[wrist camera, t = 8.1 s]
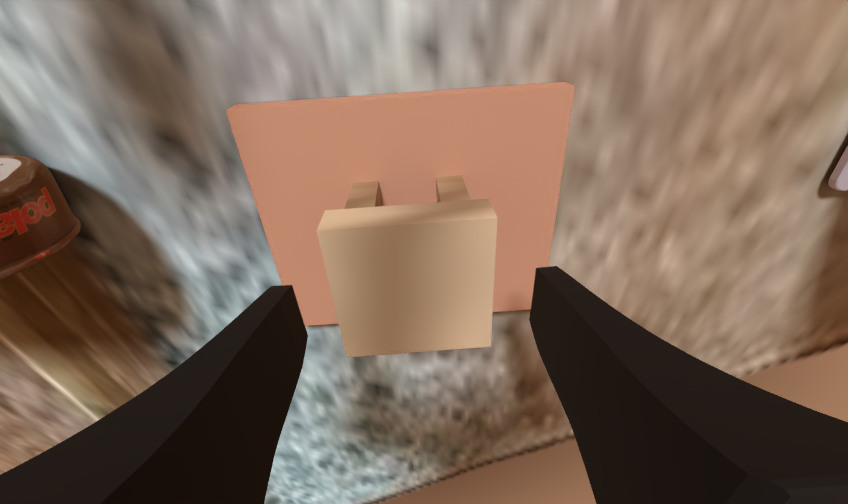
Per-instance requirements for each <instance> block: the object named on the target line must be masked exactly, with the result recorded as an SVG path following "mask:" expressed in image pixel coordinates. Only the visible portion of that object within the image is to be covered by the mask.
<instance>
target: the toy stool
mask: <svg viewBox="0 0 848 504" xmlns="http://www.w3.org/2000/svg"><path fill="white" fill-rule="evenodd" d="M436 196H437V202H435V203H421V204H407V205H393V206H382V204H381V196H380V188H379V181H374V182H359V183H352V186H351V190H350V193H349V196H348V199H347V202H346V205H345V208H344V209H336V210H325V211H324V214H323V216H322V219H321V221H320V223H319V226H318V228H317V235H318V239H319V244H320V248H321V252H322V256H323V260H324V264H325V269H326V273H327V277H328V281H329V285H330V289H331V294H332V298H333V302H334V306H335V310H336V314H337V319H338V323H339V327H340V331H341V335H342V339H343V344H344V348H345V352H346V356H347V357H357V356H371V355H384V354H398V353H411V352H424V351H438V350H451V349H465V348H478V347H491V329H492V310H493V292H494V274H495V255H496V237H497V219H498V218H497V216H496V213H495V211H494V209H493V207H492V205H491V203H490V201H489V199H477V200H471V199H470V196H469V194H468V191H467V188H466V186H465V183H464V180H463V178H462V175H459V176H445V177H436Z"/></svg>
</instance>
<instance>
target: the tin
mask: <svg viewBox="0 0 848 504" xmlns="http://www.w3.org/2000/svg"><path fill="white" fill-rule="evenodd" d="M80 228H81V224H80V221H79V219H78V218H77V217H75V216H74V215H73V214H72V212H71V210H70V208H69V206H68V204H67V202H66V200H65V198H64V196H63V194H62V192H61V190H60V189H59V187H58V185H57V183H56V181H55V179H54V177H53V176H52V174H51V173H50V171H49V170H48V168H47V167H46V166H45V165H44V164H43V163H41V162H40V161H39V160H36V159H34V158H30V157H26V156H18V155H0V280H2V279H5V278H7V277H9V276H11V275H13V274H16V273H18V272H19V271H22V270H24V269H27V268H29V267H31V266H33V265H35V264H37V263H39V262H40V261H42V260H43V259H45V258H47V257H49V256H51V255H53V254H54V253H56V252H57V251H59V250H61V249H62V248H63V247H65V246H66V245H67V244H68V243H70V242H71V241H72V240H73V239H74V238H75V237H76V235H77V234H78V233H79V231H80Z"/></svg>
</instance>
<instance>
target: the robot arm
mask: <svg viewBox="0 0 848 504" xmlns="http://www.w3.org/2000/svg"><path fill="white" fill-rule="evenodd" d="M828 184H829V186H830V187H831V188H833V189H836V190H839V191H848V145H847V147H846V149H845V151H844V153H843V155H842V156H841V158H840V160H839V162H838V164H837V165H836V167H835V169H834V171H833V173H832V175H831V176H830V178H829V181H828ZM529 320H530V324H531V327H532V331H533V335H534V338H535V341H536V345H537V348H538V351H539V353H540V356H541V358H542V360H543V363H544V365H545V367H546V369H547V372H548V374H549V376H550V379H551V381H552V383H553V385H554V388H555V390H556V392H557V394H558V397H559V399H560V401H561V403H562V406H563V408H564V410H565V412H566V415H567V417H568V419H569V422H570V424H571V427H572V429H573V432H574V435H575V438H576V441H577V443H578V447H579V450H580V452H581V456H582V459H583V462H584V465H585V468H586V471H587V474H588V477H589V481H590V484H591V487H592V491H593V494H594V497H595V500H596V503H597V504H848V422H845V421H842V420H839V419H837V418H834V417H831V416H828V415H826V414H823V413H820V412H817V411H814V410H812V409H809V408H807V407H804V406H802V405H799V404H797V403H794V402H792V401H789V400H787V399H785V398H782V397H780V396H777V395H775V394H772V393H770V392H767V391H765V390H763V389H760V388H758V387H756V386H753V385H751V384H749V383H747V382H745V381H742V380H740V379H738V378H736V377H734V376H732V375H730V374H728V373H725V372H723V371H721V370H719V369H717V368H715V367H713V366H711V365H709V364H707V363H705V362H703V361H701V360H699V359H697V358H695V357H693V356H691V355H689V354H687V353H686V352H684V351H682V350H680V349H678V348H677V347H675V346H673V345H671V344H669V343H668V342H666V341H664V340H662V339H661V338H659V337H657V336H656V335H654V334H652V333H651V332H649V331H647V330H646V329H644V328H643V327H641V326H640V325H638V324H636V323H635V322H633V321H632V320H630V319H629V318H627V317H626V316H624V315H623V314H621V313H620V312H618V311H617V310H615V309H614V308H613V307H611V306H610V305H608V304H607V303H606V302H604V301H603V300H601V299H600V298H599V297H597V296H596V295H595V294H593V293H592V292H591V291H589V290H588V289H587V288H585V287H584V286H583V285H581V284H580V283H579V282H577V281H576V280H575V279H573V278H572V277H571V276H569V275H568V274H567V273H565V272H564V271H563V270H561V269H560V268H558V267H557V266H554V267H540V268H536V272H535V280H534V288H533V296H532V304H531V312H530V319H529ZM307 337H308V335H307V331H306V328H305V325H304V322H303V318H302V315H301V312H300V309H299V305H298V302H297V299H296V296H295V292H294V289H293V286H292V285H283V286H271V287H270V288H269V289H268V290H266V291H265V292H264V293H263V294H262V295H261V296H260V297H259V298H257V299H256V300H255V301H254V302H253V303H252V304H251V305H250V306H249V307H248V308H246V309H245V310H244V311H243V312H242V313H241V314H240V315H239V316H238V317H237V318H235V319H234V320H233V321H232V322H231V323H230V324H229V325H228V326H226V327H225V328H224V329H223V330H222V331H221V332H220V333H219V334H217V335H216V336H215V337H214V338H213V339H211V340H210V341H209V342H208V343H207V344H205V345H204V346H203V347H202V348H201V349H199V350H198V351H197V352H196V353H195V354H193V355H192V356H191V357H190V358H188V359H187V360H186V361H185V362H183V363H182V364H181V365H180V366H178V367H177V368H176V369H174V370H173V371H172V372H170V373H169V374H168V375H166V376H165V377H163V378H162V379H161V380H159V381H158V382H156V383H155V384H154V385H152V386H151V387H149V388H148V389H147V390H145V391H144V392H142V393H141V394H139V395H138V396H136V397H135V398H133V399H131V400H130V401H128V402H127V403H125V404H124V405H122V406H120V407H119V408H117V409H116V410H114V411H113V412H111V413H109V414H108V415H106V416H105V417H103V418H102V419H100V420H98V421H97V422H95V423H94V424H92V425H90V426H89V427H87V428H85V429H84V430H82V431H80V432H78V433H77V434H75V435H73V436H71V437H70V438H68V439H66V440H65V441H63V442H61V443H59V444H57V445H56V446H54V447H52V448H50V449H48V450H47V451H45V452H43V453H41V454H39V455H37V456H36V457H34V458H32V459H30V460H28V461H26V462H24V463H23V464H21V465H19V466H17V467H15V468H13V469H11V470H9V471H7V472H5V473H3V474H1V475H0V504H264V500H265V495H266V491H267V486H268V481H269V477H270V472H271V468H272V463H273V459H274V455H275V451H276V448H277V444H278V440H279V437H280V434H281V431H282V428H283V425H284V422H285V419H286V416H287V413H288V410H289V407H290V404H291V401H292V397H293V394H294V391H295V388H296V385H297V382H298V379H299V376H300V372H301V369H302V365H303V360H304V355H305V350H306V344H307Z"/></svg>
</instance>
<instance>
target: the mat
mask: <svg viewBox="0 0 848 504" xmlns="http://www.w3.org/2000/svg"><path fill="white" fill-rule="evenodd" d="M574 90H575V86H574V85H571V84H569V83H566V82H555V83H541V84H526V85H511V86H497V87H482V88H467V89H453V90H438V91H424V92H409V93H394V94H380V95H365V96H350V97H336V98H321V99H306V100H292V101H277V102H263V103H248V104H236V105H234V106H232V107H230V108H228V109H226V113H227V116H228V120H229V123H230V126H231V129H232V132H233V135H234V138H235V141H236V144H237V147H238V150H239V153H240V157H241V160H242V163H243V166H244V169H245V172H246V175H247V178H248V181H249V184H250V187H251V190H252V193H253V197H254V200H255V203H256V206H257V209H258V212H259V215H260V218H261V221H262V224H263V227H264V230H265V233H266V237H267V240H268V243H269V246H270V249H271V252H272V255H273V258H274V261H275V264H276V267H277V270H278V274H279V277H280V280H281V283H282V286H283V285H292V286H293V289H294V292H295V296H296V299H297V302H298V305H299V309H300V312H301V315H302V318H303V322H304V325H305V326H311V325H325V324H338V319H337V314H336V310H335V306H334V302H333V298H332V294H331V289H330V285H329V281H328V277H327V273H326V269H325V264H324V260H323V256H322V252H321V248H320V244H319V239H318V235H317V228H318V226H319V223H320V221H321V219H322V216H323V214H324V211H325V210H336V209H344V208H345V205H346V202H347V199H348V196H349V193H350V190H351V186H352V183H359V182H374V181H379V188H380V196H381V204H382V206H393V205H407V204H421V203H435V202H437V196H436V177H445V176H459V175H462V178H463V180H464V183H465V186H466V188H467V191H468V194H469V196H470V199H471V200H477V199H489V201H490V203H491V205H492V207H493V209H494V211H495V213H496V216H497V218H498V219H497V237H496V255H495V274H494V292H493V310H492V312H501V311H515V310H528V309H531V304H532V296H533V288H534V280H535V272H536V268H540V267H548V266H549V259H550V252H551V246H552V239H553V232H554V225H555V219H556V212H557V205H558V198H559V191H560V185H561V178H562V171H563V164H564V158H565V151H566V144H567V137H568V131H569V124H570V117H571V110H572V103H573V97H574Z"/></svg>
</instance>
